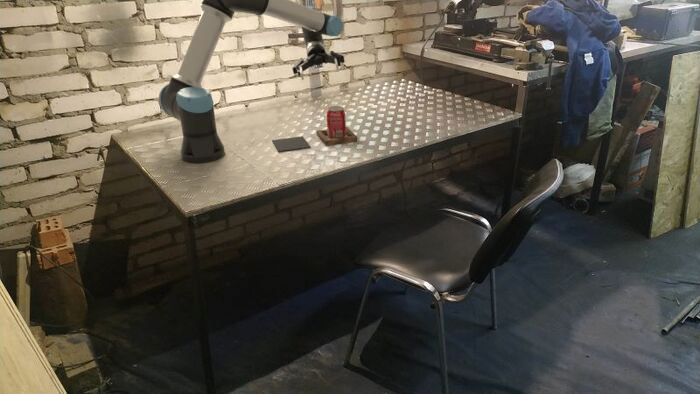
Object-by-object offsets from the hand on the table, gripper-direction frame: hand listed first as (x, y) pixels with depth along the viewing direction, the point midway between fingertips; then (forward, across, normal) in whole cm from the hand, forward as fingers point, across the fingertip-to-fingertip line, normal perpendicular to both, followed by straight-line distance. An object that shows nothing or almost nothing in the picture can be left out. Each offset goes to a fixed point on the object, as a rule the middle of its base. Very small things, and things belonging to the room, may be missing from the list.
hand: (319, 72), depth 192 cm
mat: (+12, +17, -20) cm, 29 cm away
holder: (+8, 0, -24) cm, 26 cm away
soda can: (+8, 0, -24) cm, 26 cm away
